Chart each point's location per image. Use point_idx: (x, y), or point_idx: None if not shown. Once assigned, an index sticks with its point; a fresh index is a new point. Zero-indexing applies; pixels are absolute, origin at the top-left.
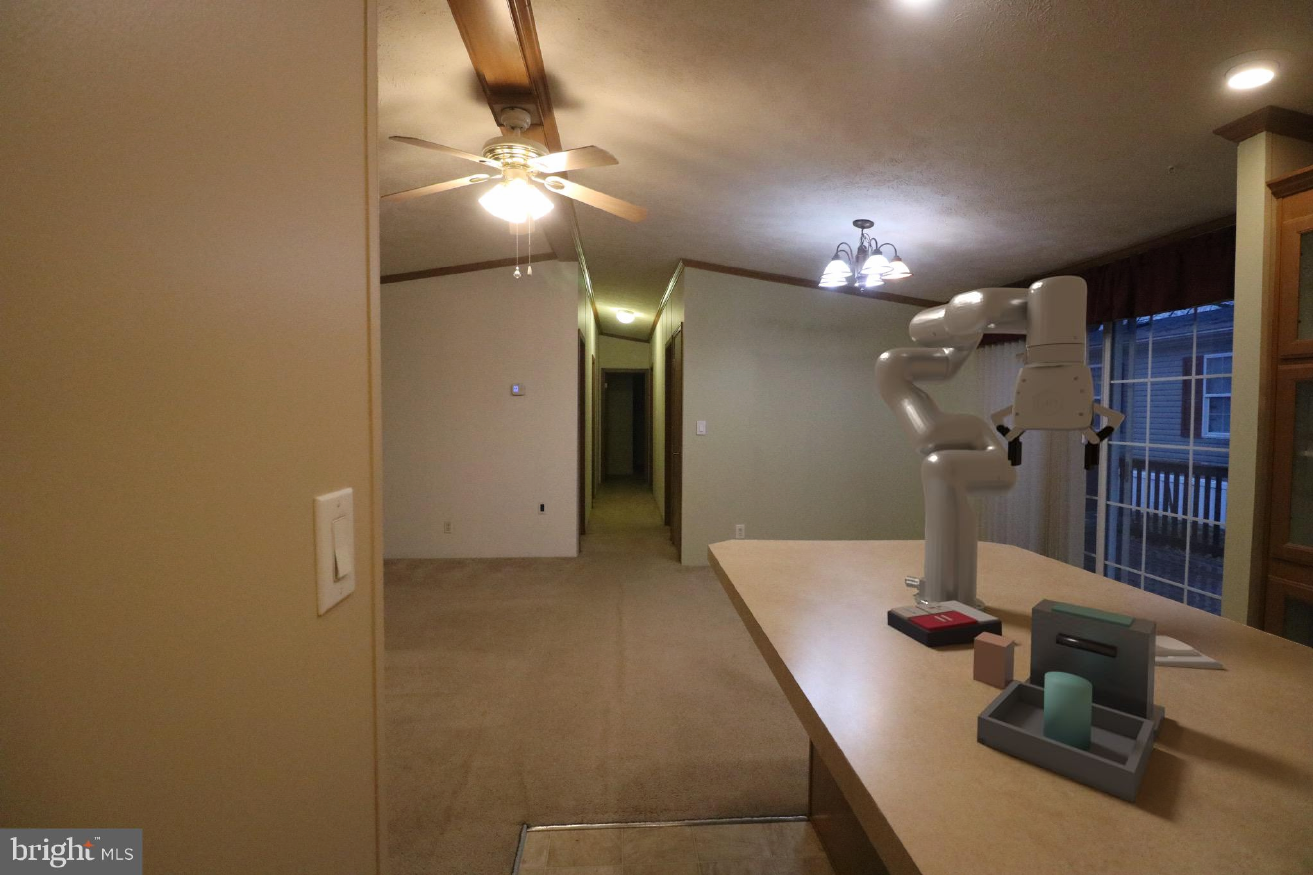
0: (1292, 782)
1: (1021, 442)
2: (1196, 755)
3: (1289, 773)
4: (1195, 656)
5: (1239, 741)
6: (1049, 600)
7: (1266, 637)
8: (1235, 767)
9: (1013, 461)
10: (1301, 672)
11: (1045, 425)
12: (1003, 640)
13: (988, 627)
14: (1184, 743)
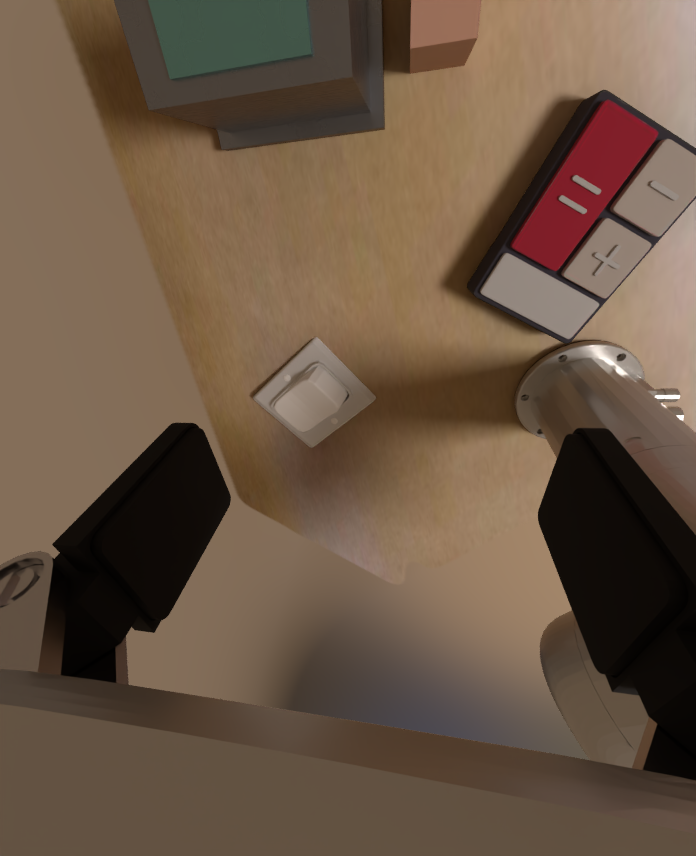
0: (82, 52)
1: (603, 666)
2: None
3: (96, 86)
4: (272, 398)
5: (159, 150)
6: (338, 71)
7: (264, 511)
8: (120, 27)
9: (599, 440)
10: (217, 438)
11: (301, 851)
12: (427, 5)
13: (490, 260)
14: None
